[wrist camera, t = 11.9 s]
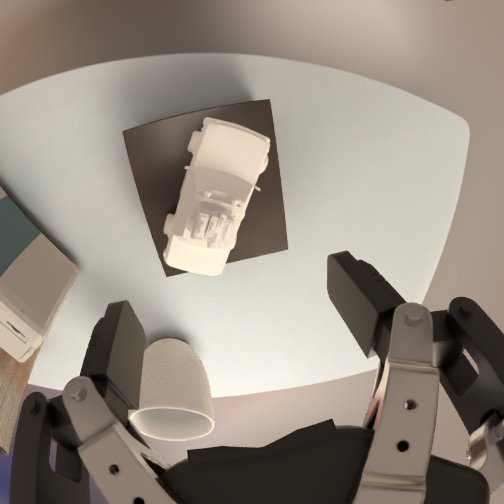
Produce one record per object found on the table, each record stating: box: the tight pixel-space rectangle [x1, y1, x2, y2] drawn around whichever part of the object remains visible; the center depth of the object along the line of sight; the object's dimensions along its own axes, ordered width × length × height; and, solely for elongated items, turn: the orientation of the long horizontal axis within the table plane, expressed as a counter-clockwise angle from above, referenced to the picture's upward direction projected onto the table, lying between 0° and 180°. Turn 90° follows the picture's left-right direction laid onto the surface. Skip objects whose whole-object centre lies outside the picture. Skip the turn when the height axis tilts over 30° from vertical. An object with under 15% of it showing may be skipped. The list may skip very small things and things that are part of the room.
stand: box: [123, 99, 288, 277], centre depth 25 cm, size 14×12×6 cm
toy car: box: [163, 117, 270, 276], centre depth 19 cm, size 6×12×7 cm, turn 159°
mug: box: [129, 338, 214, 441], centre depth 34 cm, size 15×11×13 cm
